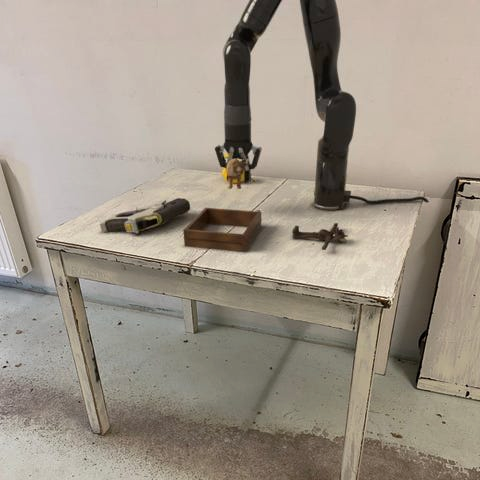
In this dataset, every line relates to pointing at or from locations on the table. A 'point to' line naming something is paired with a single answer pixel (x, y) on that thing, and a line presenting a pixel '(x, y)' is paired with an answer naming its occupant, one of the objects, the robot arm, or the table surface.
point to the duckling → (226, 172)
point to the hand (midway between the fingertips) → (238, 181)
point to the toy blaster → (146, 216)
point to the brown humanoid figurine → (322, 235)
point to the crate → (221, 239)
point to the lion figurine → (235, 172)
